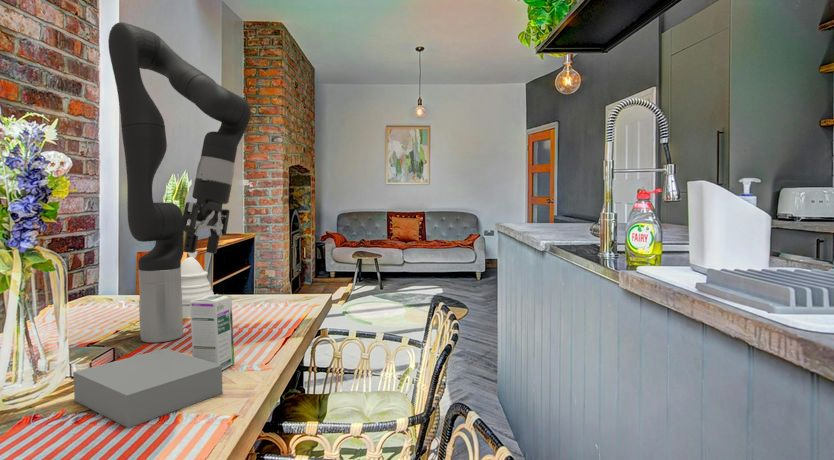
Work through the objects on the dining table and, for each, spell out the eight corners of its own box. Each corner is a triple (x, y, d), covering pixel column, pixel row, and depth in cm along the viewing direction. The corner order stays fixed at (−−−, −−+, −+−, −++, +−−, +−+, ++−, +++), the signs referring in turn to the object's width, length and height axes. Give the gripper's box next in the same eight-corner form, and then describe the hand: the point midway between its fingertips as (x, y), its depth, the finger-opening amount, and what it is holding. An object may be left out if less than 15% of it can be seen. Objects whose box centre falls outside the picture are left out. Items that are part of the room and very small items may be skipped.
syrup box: (218, 373, 97) (216, 300, 96) (191, 371, 98) (189, 299, 97) (234, 364, 103) (233, 294, 102) (209, 362, 104) (207, 293, 103)
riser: (74, 400, 84) (73, 371, 84) (166, 373, 98) (165, 348, 97) (128, 428, 74) (126, 395, 74) (222, 393, 88) (221, 365, 87)
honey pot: (181, 307, 157) (179, 250, 155) (221, 307, 156) (220, 250, 155) (158, 317, 144) (156, 255, 143) (202, 317, 143) (200, 255, 142)
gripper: (215, 182, 117) (202, 250, 117) (179, 172, 103) (164, 249, 102) (245, 187, 116) (232, 255, 116) (212, 177, 102) (198, 255, 101)
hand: (200, 252), depth 109 cm, fingers open, 8 cm apart
